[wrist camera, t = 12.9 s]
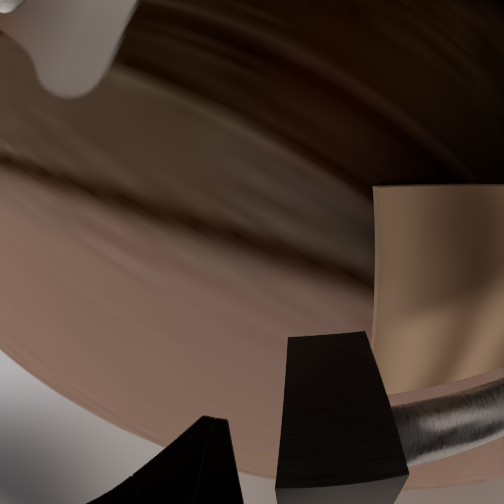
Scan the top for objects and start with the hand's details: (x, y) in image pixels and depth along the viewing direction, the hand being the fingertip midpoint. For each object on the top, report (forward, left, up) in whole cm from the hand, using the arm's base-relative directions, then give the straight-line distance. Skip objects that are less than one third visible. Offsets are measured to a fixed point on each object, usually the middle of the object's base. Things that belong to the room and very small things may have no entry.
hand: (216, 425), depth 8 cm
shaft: (0, +13, -2) cm, 13 cm away
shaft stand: (0, +18, -8) cm, 20 cm away
